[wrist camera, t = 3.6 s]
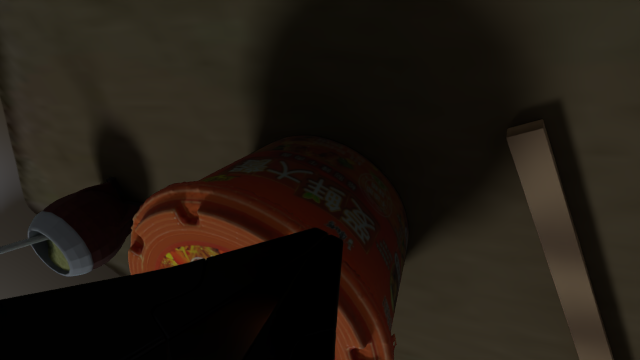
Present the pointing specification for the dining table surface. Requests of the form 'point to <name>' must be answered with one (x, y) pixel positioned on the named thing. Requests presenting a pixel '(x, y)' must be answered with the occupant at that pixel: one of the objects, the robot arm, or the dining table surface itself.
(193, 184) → the food container
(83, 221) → the mate gourd
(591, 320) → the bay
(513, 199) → the dining table surface
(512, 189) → the dining table surface
